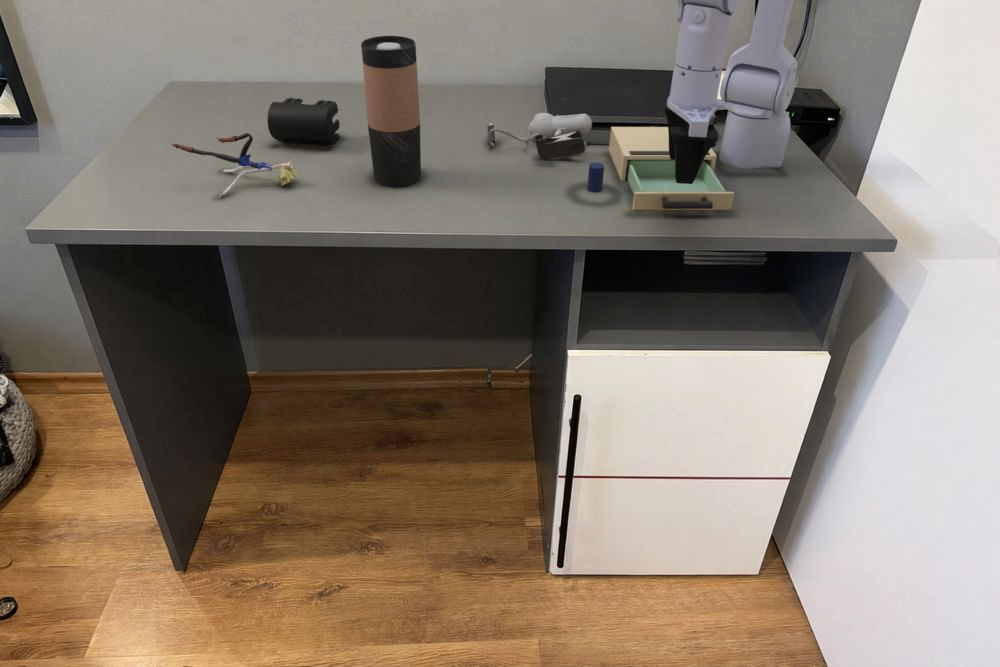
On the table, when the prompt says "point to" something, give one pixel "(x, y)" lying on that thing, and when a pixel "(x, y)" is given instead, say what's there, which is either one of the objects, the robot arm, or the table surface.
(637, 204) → the wooden drawer
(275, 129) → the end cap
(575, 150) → the clip-on lamp
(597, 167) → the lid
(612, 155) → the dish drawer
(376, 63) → the travel mug
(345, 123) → the table surface
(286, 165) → the spliced wire bundle
